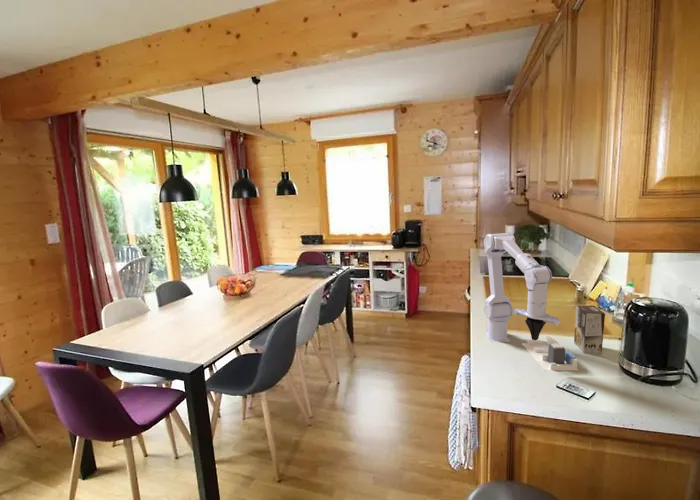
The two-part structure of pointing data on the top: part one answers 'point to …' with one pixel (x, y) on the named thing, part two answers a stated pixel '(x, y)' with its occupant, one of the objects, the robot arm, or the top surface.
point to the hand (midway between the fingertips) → (535, 339)
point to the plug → (556, 354)
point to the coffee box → (589, 329)
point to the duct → (541, 354)
